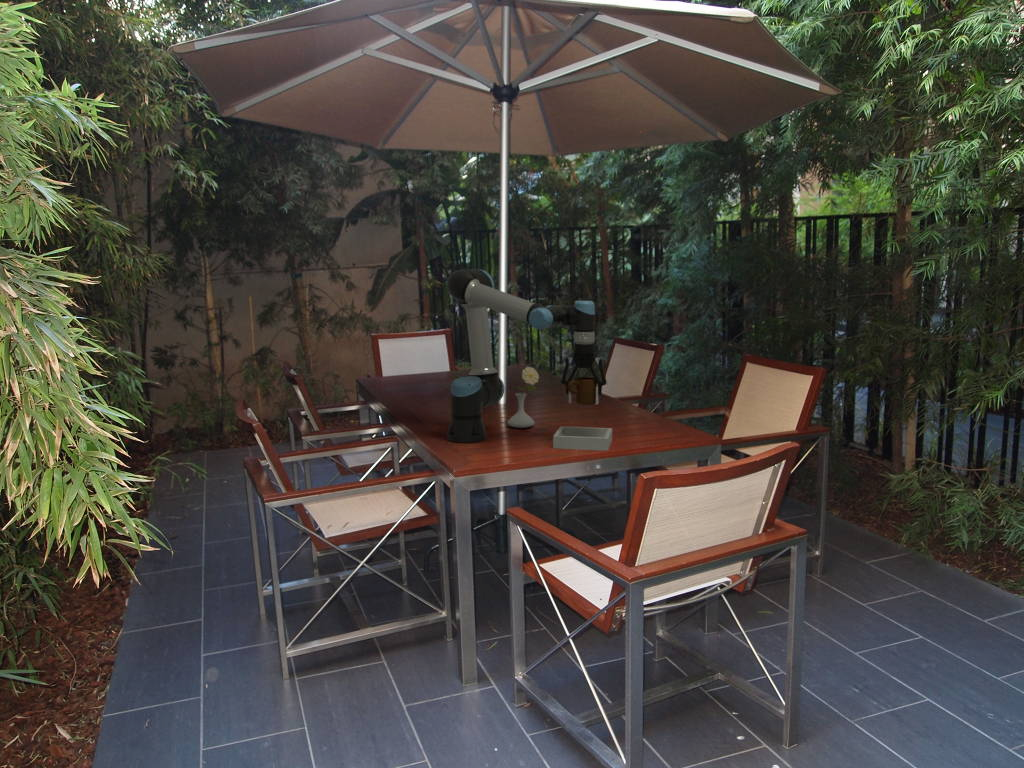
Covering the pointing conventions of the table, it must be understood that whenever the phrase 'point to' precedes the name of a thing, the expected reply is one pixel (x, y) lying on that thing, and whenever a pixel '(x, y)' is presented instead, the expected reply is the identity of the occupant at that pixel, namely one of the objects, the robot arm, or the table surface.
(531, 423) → the flower in vase
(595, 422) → the table surface
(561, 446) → the tray
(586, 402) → the mug
